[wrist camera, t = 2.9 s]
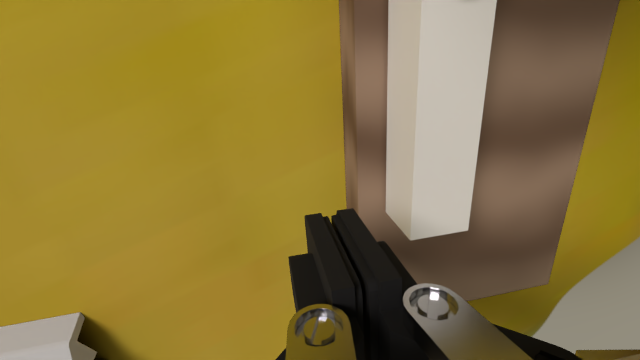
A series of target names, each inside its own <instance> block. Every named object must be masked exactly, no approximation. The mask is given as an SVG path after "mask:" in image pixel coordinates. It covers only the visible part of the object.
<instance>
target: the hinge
mask: <svg viewBox="0 0 640 360" xmlns="http://www.w3.org/2000/svg"><path fill="white" fill-rule="evenodd" d="M84 319H85V317H84V316H83V315H82V313H74V314H69V315H63V316H58V317H53V318H47V319H42V320H36V321H31V322H25V323H20V324H15V325H9V326H4V327H0V360H94V358H95V356H96V353H97V352H96V351H94V350H93V349H91V348H89V347H87V346H85V345H83V344H81V343H80V342H78V341H77V339H78V336H79V333H80V330H81V327H82V325H83V322H84Z"/></svg>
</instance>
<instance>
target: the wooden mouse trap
mask: <svg viewBox="0 0 640 360" xmlns="http://www.w3.org/2000/svg"><path fill="white" fill-rule="evenodd" d="M388 2H389V0H339V14H340V40H341V67H342V94H343V121H344V147H345V174H346V201H347V209H351V208H353V209H354V210H355V211H356V213H357V214H358V216H359V217H360V218H361V220H362V221H363V223H364V224H365V226H366V227H367V228H368V230H369V231H370V233H371V234H372V236H373V237H374V238H375V240H376V241H377V242H378V241H385V242H386V243H387V244H388V246H389V247H390V248H391V250H392V251H393V252H394V254H395V255H396V256H397V258H398V259H399V260H400V262H401V263H402V264H403V266H404V267H405V268H406V270H407V271H408V272H409V274H410V275H411V276H412V278H413V279H414V280H415V282H416V283H417V284H423V283H428V284H436V285H441V286H444V287H446V288H448V289H451V290H452V291H453V292H455V293H456V294H458V295H459V296H460V297H461V298H462V299H464V300H465V301H470V300H475V299H480V298H484V297H489V296H494V295H498V294H503V293H508V292H512V291H517V290H522V289H527V288H531V287H536V286H541V285H545V284H548V282H549V278H550V274H551V270H552V266H553V262H554V258H555V255H556V251H557V247H558V243H559V239H560V235H561V231H562V227H563V223H564V219H565V215H566V211H567V207H568V203H569V199H570V195H571V191H572V187H573V183H574V179H575V175H576V171H577V167H578V163H579V159H580V155H581V151H582V147H583V143H584V139H585V135H586V131H587V127H588V123H589V119H590V115H591V111H592V107H593V103H594V99H595V96H596V92H597V88H598V84H599V80H600V76H601V72H602V68H603V64H604V60H605V56H606V52H607V48H608V44H609V40H610V36H611V32H612V28H613V24H614V20H615V16H616V12H617V8H618V4H619V0H497V3H496V11H495V19H494V27H493V35H492V43H491V51H490V59H489V67H488V75H487V83H486V91H485V99H484V107H483V115H482V123H481V131H480V139H479V147H478V155H477V163H476V171H475V179H474V187H473V195H472V203H471V211H470V219H469V227H468V231H462V232H456V233H451V234H445V235H439V236H434V237H428V238H422V239H416V240H411V241H410V240H409V239H408V237H407V236H406V235H405V234H404V233H403V232H402V230H401V229H400V228H399V227H398V226H397V225H396V223H395V222H394V221H393V220H392V219H391V218H390V216H389V215H388V214H387V213H386V150H387V76H388Z"/></svg>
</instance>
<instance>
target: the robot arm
mask: <svg viewBox="0 0 640 360" xmlns="http://www.w3.org/2000/svg"><path fill="white" fill-rule="evenodd" d="M305 227H306V237H307V247H308V254H302V255H296V256H290V257H289V266H290V274H291V282H292V289H293V296H294V302H295V308H296V314H294V316H293V317H292V319H291V320H290V322H289V325H288V330H287V345H286V349H285V350H284V351H283V352H282V353H281V354H280V355H279V356H278V358H277V359H276V360H640V350H577V351H576V353H575V354H573V353H571V352H570V351H567V350H565V349H563V348H561V347H558V346H556V345H553V344H550V343H547V342H544V341H541V340H538V339H535V338H533V337H530V336H527V335H524V334H521V333H518V332H515V331H512V330H509V329H506V328H503V327H500V326H497V325H494V324H492V323H490V322H489V321H488V320H487V319H485V318H484V317H483V316H482V315H481V314H480V313H479V312H477V311H476V310H475V309H474V308H473V307H472V306H470V305H469V304H468V303H467V302H466V301H465V300H464V299H462V298H461V297H460V296H459V295H458V294H456V293H455V292H453V291H452V290H451V289H448V288H446V287H444V286H441V285H436V284H428V283H423V284H417V283H416V282H415V280H414V279H413V278H412V276H411V275H410V274H409V272H408V271H407V270H406V268H405V267H404V266H403V264H402V263H401V262H400V260H399V259H398V258H397V256H396V255H395V254H394V252H393V251H392V250H391V248H390V247H389V246H388V244H387V243H386V242H385V241H378V242H377V241H376V240H375V238H374V237H373V236H372V234H371V233H370V231H369V230H368V228H367V227H366V226H365V224H364V223H363V221H362V220H361V218H360V217H359V216H358V214H357V213H356V211H355V210H354V209H353V208H351V209H345V210H338V211H337V214H336V215H333V216H332V224H331V222H330V220H329V218H328V216H326V217H323V216H322V214H321V213H318V214H311V215H305Z"/></svg>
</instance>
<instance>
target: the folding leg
mask: <svg viewBox="0 0 640 360" xmlns="http://www.w3.org/2000/svg"><path fill="white" fill-rule="evenodd" d="M496 3H497V0H389V2H388V76H387V150H386V213H387V214H388V215H389V216H390V218H391V219H392V220H393V221H394V222H395V223H396V225H397V226H398V227H399V228H400V229H401V230H402V232H403V233H404V234H405V235H406V236H407V237H408V239H409V240H410V241H411V240H416V239H422V238H428V237H434V236H439V235H445V234H451V233H456V232H462V231H468V227H469V219H470V211H471V203H472V195H473V187H474V179H475V171H476V163H477V155H478V147H479V139H480V131H481V123H482V115H483V107H484V99H485V91H486V83H487V75H488V67H489V59H490V51H491V43H492V35H493V27H494V19H495V11H496Z"/></svg>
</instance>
